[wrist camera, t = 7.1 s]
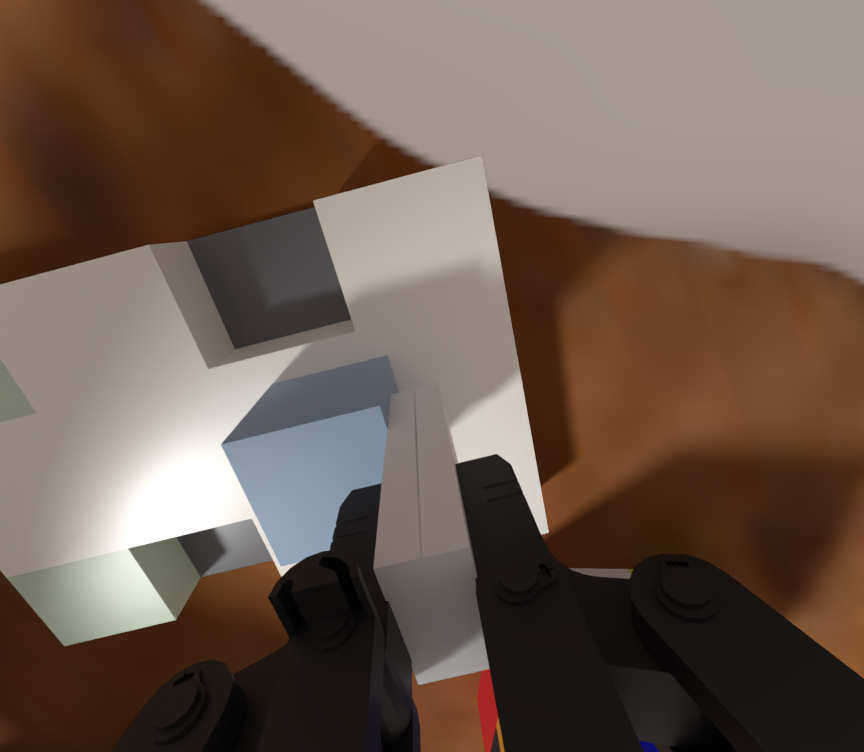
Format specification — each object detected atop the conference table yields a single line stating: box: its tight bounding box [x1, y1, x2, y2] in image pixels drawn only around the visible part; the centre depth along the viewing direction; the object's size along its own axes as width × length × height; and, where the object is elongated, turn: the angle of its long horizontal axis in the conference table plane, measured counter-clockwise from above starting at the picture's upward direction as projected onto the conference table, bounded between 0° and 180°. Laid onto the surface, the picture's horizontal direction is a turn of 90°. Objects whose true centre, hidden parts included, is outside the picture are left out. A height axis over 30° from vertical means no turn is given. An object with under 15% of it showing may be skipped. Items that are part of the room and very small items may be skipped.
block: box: [221, 355, 399, 566], centre depth 12 cm, size 4×4×4 cm
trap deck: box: [0, 156, 549, 646], centre depth 16 cm, size 21×14×2 cm, turn 104°
